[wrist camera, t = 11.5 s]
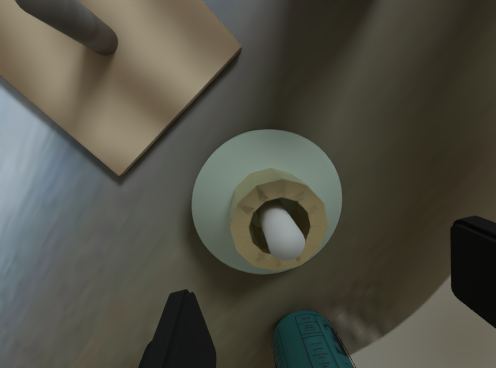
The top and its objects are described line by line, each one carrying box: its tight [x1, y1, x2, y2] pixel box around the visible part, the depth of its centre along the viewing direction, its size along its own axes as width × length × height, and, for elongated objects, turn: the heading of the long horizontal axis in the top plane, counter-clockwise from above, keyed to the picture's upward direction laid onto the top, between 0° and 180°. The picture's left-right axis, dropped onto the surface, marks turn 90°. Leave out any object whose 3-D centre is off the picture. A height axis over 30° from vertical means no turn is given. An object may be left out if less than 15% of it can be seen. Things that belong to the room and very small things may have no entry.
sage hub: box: [192, 129, 342, 274], centre depth 17 cm, size 12×12×9 cm
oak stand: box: [0, 0, 242, 176], centre depth 14 cm, size 14×14×7 cm
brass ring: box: [230, 168, 328, 272], centre depth 16 cm, size 6×6×4 cm
